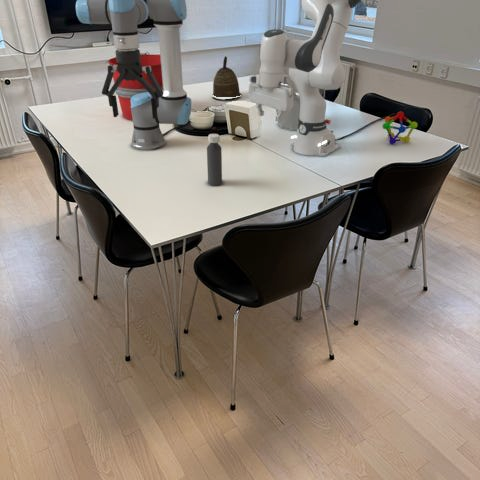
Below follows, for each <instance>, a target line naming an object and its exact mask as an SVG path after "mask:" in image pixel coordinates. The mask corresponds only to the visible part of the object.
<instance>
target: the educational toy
mask: <svg viewBox="0 0 480 480" xmlns="http://www.w3.org/2000/svg"><path fill="white" fill-rule="evenodd" d="M385 117H386V116H385ZM397 119H399V124H400V125H399V127H398V126H393V125H391V124H392V123H394V122H395V121H396V120H397ZM403 120H404V121H405V122H407V123H408V124H409V125H407V126H404V123H403ZM417 127H418V122H417V121H411V120H410V119H409V118H408V117H406V116H405V113H404V112H403V111H401V110H400V111H398V112H397V113H396V116H395V115H393V116H390V117H386V118H384V122H383V123H382V129H383V130H386V132H387V138H388V142H389V145H395V144H396V143H397V142H402V141H403V142H404V143H409V142H410V140H411V138H410V136H411V134H412V132H413V131H414V130H415V129H417ZM392 129H393V130H397V131H398V132H396V134H395V133H394V132H392ZM408 129H409V131H408V133H407V134H406V135H404V136H401V134H403V133H405V132H406V130H408ZM399 135H400V136H399Z"/></svg>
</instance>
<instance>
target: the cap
mask: <svg viewBox="0 0 480 480" xmlns="http://www.w3.org/2000/svg"><path fill="white" fill-rule="evenodd" d="M207 141H208V143H209V144H210V143H217V142H218V143H219V142H220V141H221V140H220V135H219V134H218V133H209V134H208V137H207Z"/></svg>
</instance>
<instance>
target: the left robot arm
mask: <svg viewBox="0 0 480 480" xmlns="http://www.w3.org/2000/svg"><path fill="white" fill-rule="evenodd" d="M187 11H188V9H187V3H186V0H76V2H75V13H76V17H77V19H78V21H79V22H80V23H82V24H89V25H111V28H112V37H113V43H114V48H115V52H114V53H115V57H116V60H117V66H114V65H113V64H111V65H109V64H108V65H109V66H108V65H107V74H106V78H105V81H104V84H103V86H102V90H101V94H102V95H104V96H107V98H108V105H109V107H111V108H112V114H113V118H117V117H118V116H119V115H120V114H119V108H118V107H119V106H118V101H117V94H116V90H117V88H118V87H119V85H120V84H121V82H122V81H123V80H125V81H128V80H132V81H135V80H137V81H138V82H140V83H141V84H142V85H143V87H144V88H145V89H146V90H147V91H148V92H145V93H140V94H136V95H134V96H133V97H132V98H131V111H132V118H133V120H132V125H133V132H132V135H131V142H130V143H131V147H132V148H134V149H135V150H141V151H151V150H153V151H154V150H157V149H161V148H163V147H164V146H165V144H166V140H165V137H164V136H165V135H167V134H169V133H170V132H172V131H174V130H176V129H178V128H180V127H183V126H184V125H186V124H189V123H190V122H189V120H190V119H191V113H192V99H191V97H189V96H188V93H187V91H185V89H184V84H183V67H182V51H181V50H182V49H181V34H180V33H181V31H180V29H181V28H182V26H183V25H184V23H183V21H184V20H186V19H187V15H188V13H187ZM146 20H153V26H154V27H155V28H156V29H157V32H158V44H159V55H160V57H161V69H162V81H163V90H162V89H161V87H160V85H159V83H158V82H157V80H156V78H155V76H154V74H153V73H152V68H151V66H150V65H149V66H146V67H142V65H141V57H140V53H141V50H140V49H139V48H140V42H139V41H140V39H139V31H138V25H141V24H143V23H144V22H146ZM116 70H117V71H118V73H119V74H120V75H119V77H118V78H117V80H116V82H115V83H114V82H113V84H112V81H113V75H114V72H115V71H116ZM142 71H144V72H145V73H146V74H147V76H148V78H149V80H150V82H151V83H152V85H153V87H154V89H155V90H154V89H153V88H152V86H151V85H150V84H149V83H148V82H147V81H146V79H145V78H144V76H143V75H142V74H141V73H142ZM111 84H112V85H111ZM110 86H111V88H110ZM208 107H209V106H207V107H206V108H204V109H203V110H202V111H204V112H205V111H206V110H208V109H209V108H208ZM207 108H208V109H207ZM160 124H161V125H164V124H165V125H177V126H175V127H173V128H170V129H169V130H167V131H166V132H165V133H163V132H162V130H161V127H160Z"/></svg>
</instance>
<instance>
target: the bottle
mask: <svg viewBox="0 0 480 480" xmlns="http://www.w3.org/2000/svg"><path fill="white" fill-rule="evenodd" d="M222 150H223V149H222V146H221V145H220V144H219V142H217V143H210V142H209V144H208V145H207V146H206V165H207V184H208V185H209V186H212V187H218V186H222V185H223V160H222V159H223V157H222V155H223V154H222Z"/></svg>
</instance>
